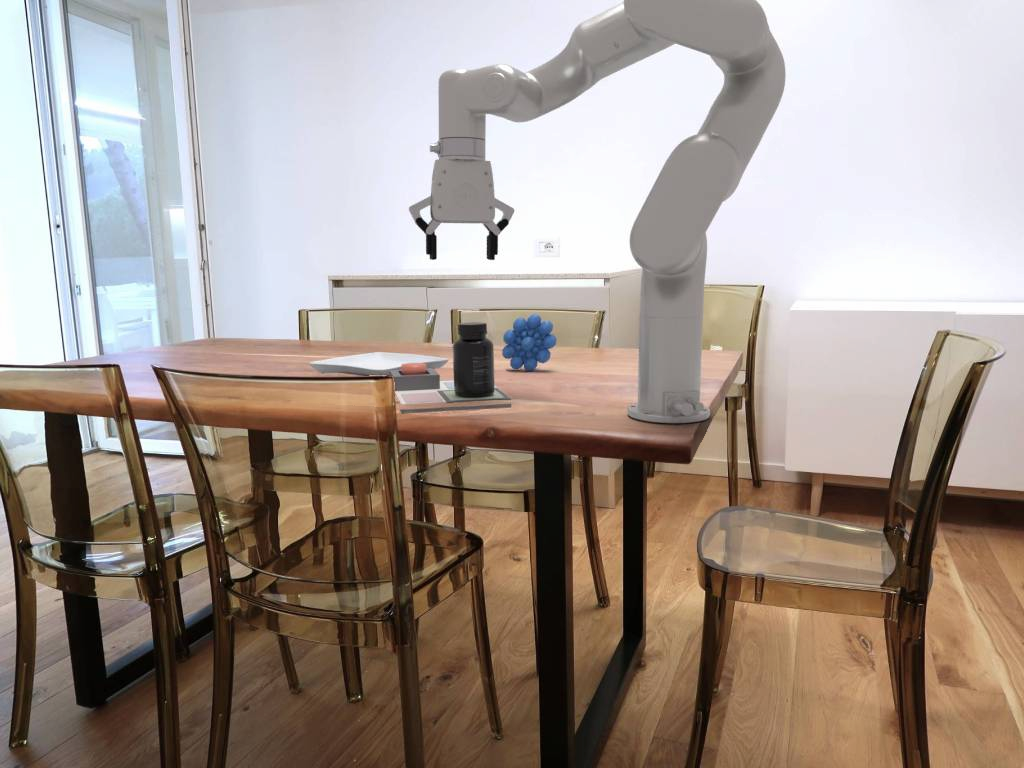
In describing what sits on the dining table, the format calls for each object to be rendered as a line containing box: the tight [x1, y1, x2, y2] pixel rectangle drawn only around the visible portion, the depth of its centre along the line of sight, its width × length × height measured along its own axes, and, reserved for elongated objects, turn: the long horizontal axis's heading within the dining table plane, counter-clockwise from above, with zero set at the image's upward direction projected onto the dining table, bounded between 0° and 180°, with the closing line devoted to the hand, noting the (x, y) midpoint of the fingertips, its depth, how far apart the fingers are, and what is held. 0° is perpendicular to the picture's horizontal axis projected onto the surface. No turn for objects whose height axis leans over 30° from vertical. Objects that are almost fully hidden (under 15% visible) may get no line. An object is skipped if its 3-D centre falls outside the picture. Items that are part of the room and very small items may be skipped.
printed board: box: [394, 380, 512, 414], centre depth 143 cm, size 21×18×2 cm
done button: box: [401, 363, 426, 375], centre depth 148 cm, size 4×4×2 cm
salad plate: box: [308, 351, 450, 376], centre depth 172 cm, size 21×21×3 cm
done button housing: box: [389, 368, 441, 391], centre depth 148 cm, size 8×8×2 cm
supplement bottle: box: [452, 321, 496, 397], centre depth 138 cm, size 7×7×12 cm
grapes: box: [501, 313, 558, 372], centre depth 174 cm, size 12×7×12 cm, turn 77°
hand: (462, 259), depth 136 cm, fingers open, 9 cm apart
